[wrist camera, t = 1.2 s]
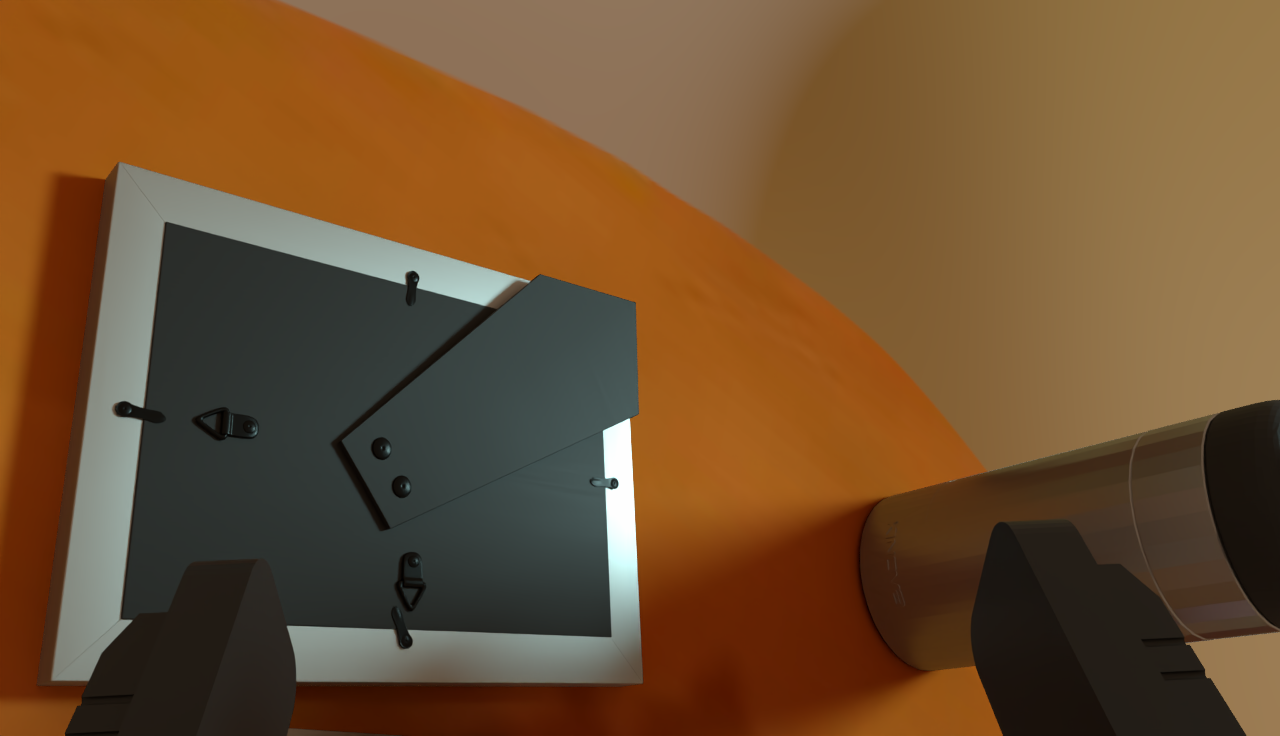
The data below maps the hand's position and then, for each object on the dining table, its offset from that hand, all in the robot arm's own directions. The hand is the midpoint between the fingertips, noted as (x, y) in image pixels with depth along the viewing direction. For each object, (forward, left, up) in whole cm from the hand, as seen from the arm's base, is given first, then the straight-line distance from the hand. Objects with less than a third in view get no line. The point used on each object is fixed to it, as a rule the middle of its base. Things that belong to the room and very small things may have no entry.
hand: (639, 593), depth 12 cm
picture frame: (-9, -10, -25) cm, 29 cm away
